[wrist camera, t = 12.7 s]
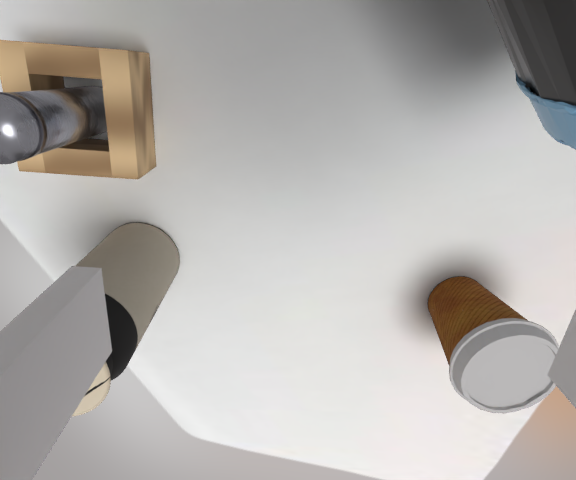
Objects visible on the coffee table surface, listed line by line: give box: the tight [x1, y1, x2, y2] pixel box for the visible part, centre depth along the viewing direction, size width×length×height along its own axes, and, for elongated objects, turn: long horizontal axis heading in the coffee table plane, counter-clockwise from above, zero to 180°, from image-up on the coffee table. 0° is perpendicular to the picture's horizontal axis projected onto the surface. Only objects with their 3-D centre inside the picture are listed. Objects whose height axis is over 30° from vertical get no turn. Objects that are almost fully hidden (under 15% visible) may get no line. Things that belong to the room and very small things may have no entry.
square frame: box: [0, 40, 156, 179], centre depth 34 cm, size 10×10×5 cm
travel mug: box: [72, 223, 180, 416], centre depth 34 cm, size 8×8×18 cm
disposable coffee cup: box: [428, 277, 559, 413], centre depth 39 cm, size 10×10×12 cm
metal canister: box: [0, 86, 107, 164], centre depth 29 cm, size 4×4×14 cm
